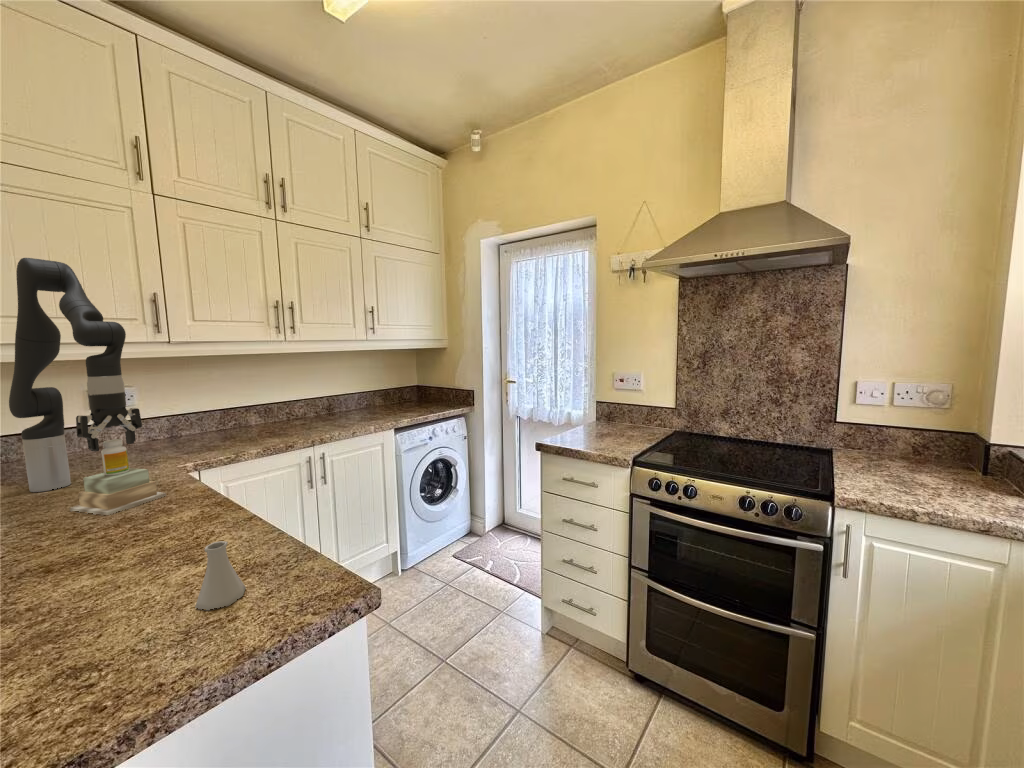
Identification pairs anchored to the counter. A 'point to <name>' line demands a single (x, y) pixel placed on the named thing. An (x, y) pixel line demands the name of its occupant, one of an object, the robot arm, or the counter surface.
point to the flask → (219, 579)
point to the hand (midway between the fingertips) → (113, 447)
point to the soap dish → (116, 492)
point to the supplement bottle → (114, 458)
